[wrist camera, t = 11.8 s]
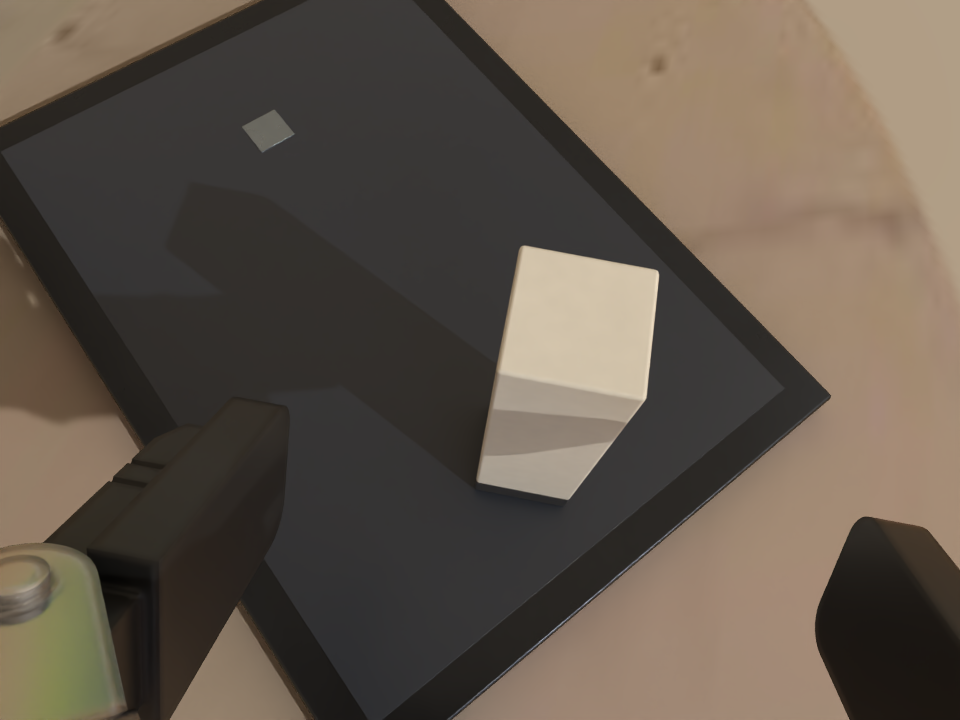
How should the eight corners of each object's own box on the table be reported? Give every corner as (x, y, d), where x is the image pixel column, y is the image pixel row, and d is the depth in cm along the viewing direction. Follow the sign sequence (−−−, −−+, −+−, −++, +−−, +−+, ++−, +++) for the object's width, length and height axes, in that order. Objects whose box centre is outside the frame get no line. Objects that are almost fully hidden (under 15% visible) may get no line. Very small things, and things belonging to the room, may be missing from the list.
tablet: (-29, 163, 23) (-46, 145, 23) (387, -42, 28) (386, -64, 27) (365, 790, 17) (361, 796, 17) (819, 405, 22) (835, 394, 21)
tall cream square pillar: (474, 489, 19) (496, 372, 12) (490, 404, 20) (520, 242, 12) (564, 507, 19) (647, 401, 12) (576, 420, 20) (661, 268, 12)
